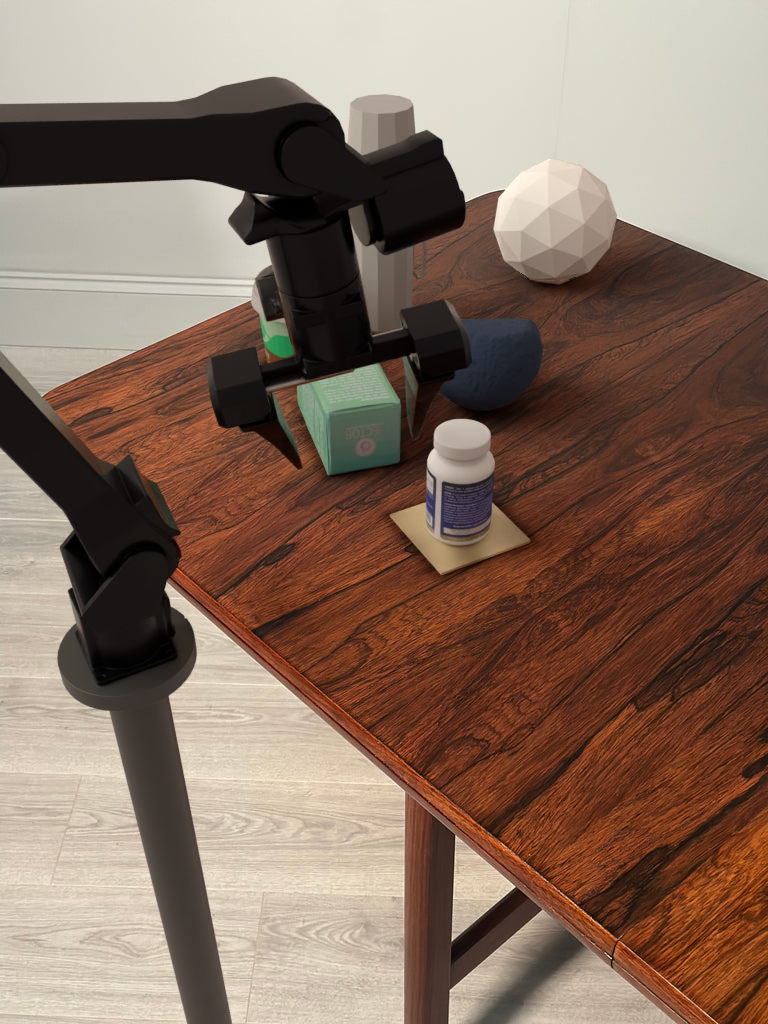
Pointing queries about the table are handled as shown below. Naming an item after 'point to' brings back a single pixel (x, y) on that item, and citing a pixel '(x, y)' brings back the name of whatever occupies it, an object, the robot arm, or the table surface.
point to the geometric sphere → (554, 221)
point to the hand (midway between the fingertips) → (357, 451)
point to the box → (353, 419)
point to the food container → (272, 328)
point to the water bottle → (381, 275)
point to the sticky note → (456, 557)
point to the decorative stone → (496, 363)
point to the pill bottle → (460, 483)
